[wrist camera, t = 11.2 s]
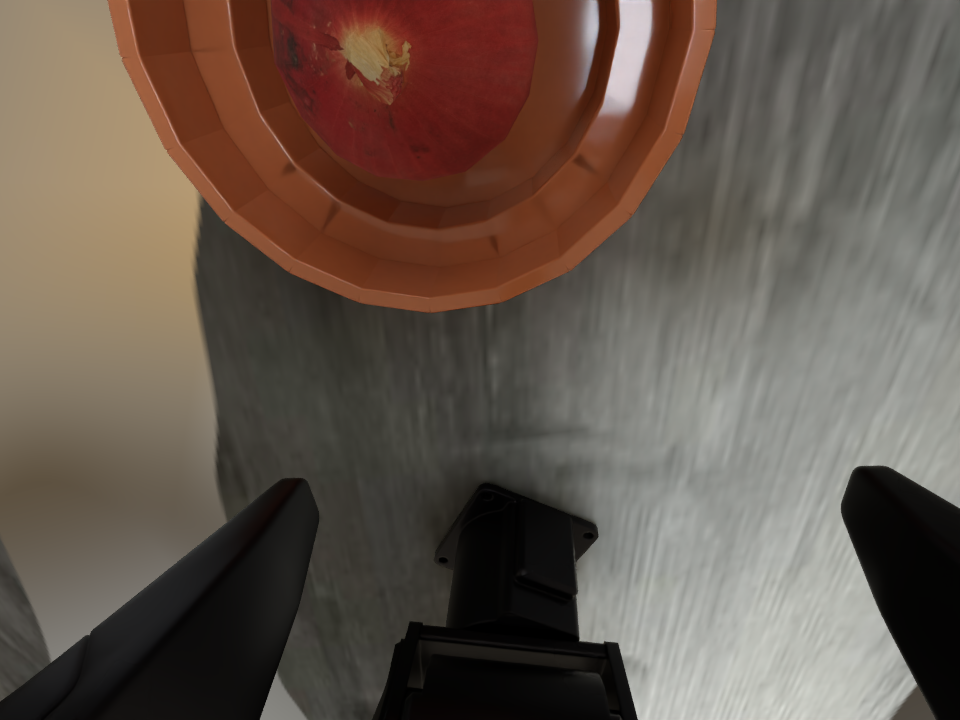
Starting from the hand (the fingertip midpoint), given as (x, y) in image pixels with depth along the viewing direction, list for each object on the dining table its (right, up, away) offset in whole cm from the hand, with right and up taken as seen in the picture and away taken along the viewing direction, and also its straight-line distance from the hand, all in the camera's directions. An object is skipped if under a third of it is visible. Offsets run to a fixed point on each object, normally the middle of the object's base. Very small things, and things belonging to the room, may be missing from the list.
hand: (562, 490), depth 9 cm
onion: (-3, +11, +6) cm, 13 cm away
